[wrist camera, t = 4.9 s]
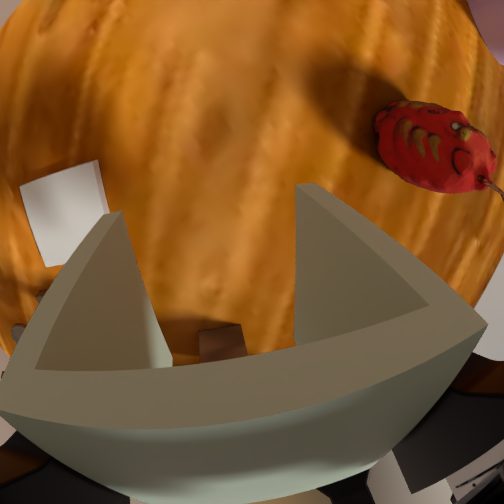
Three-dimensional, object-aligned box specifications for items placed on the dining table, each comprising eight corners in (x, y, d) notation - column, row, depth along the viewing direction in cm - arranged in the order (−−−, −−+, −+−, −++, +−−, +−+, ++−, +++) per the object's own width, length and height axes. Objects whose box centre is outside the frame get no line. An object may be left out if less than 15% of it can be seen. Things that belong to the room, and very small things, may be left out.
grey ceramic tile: (97, 159, 16) (92, 161, 15) (119, 248, 19) (116, 254, 18) (25, 183, 15) (19, 186, 14) (50, 261, 18) (46, 267, 17)
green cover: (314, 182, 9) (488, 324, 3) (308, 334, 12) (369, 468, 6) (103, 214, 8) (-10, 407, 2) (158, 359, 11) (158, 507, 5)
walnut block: (240, 324, 25) (249, 365, 20) (244, 351, 27) (253, 390, 22) (198, 330, 24) (200, 372, 20) (206, 357, 26) (210, 397, 22)
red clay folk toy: (425, 98, 17) (575, 135, 4) (431, 170, 21) (561, 241, 8) (359, 101, 17) (549, 135, 4) (370, 186, 20) (521, 287, 7)
